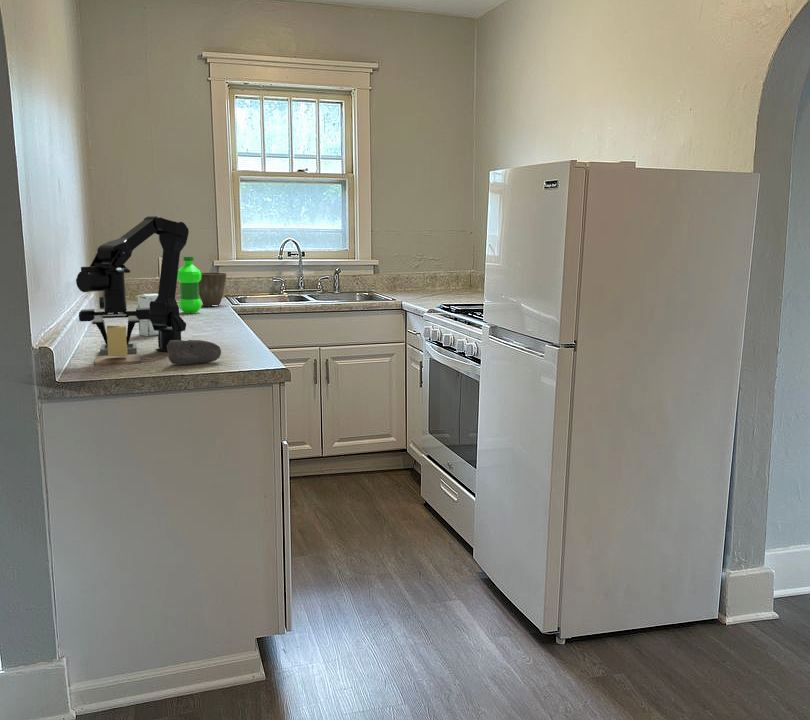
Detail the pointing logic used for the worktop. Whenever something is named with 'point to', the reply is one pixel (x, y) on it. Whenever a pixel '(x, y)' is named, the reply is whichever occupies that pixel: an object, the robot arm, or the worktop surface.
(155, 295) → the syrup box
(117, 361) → the walnut board
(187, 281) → the plastic bottle
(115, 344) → the block
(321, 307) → the worktop surface
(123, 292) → the robot arm
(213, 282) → the plant pot
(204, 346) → the perforated stone tool
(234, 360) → the worktop surface
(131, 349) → the hinged window frame
